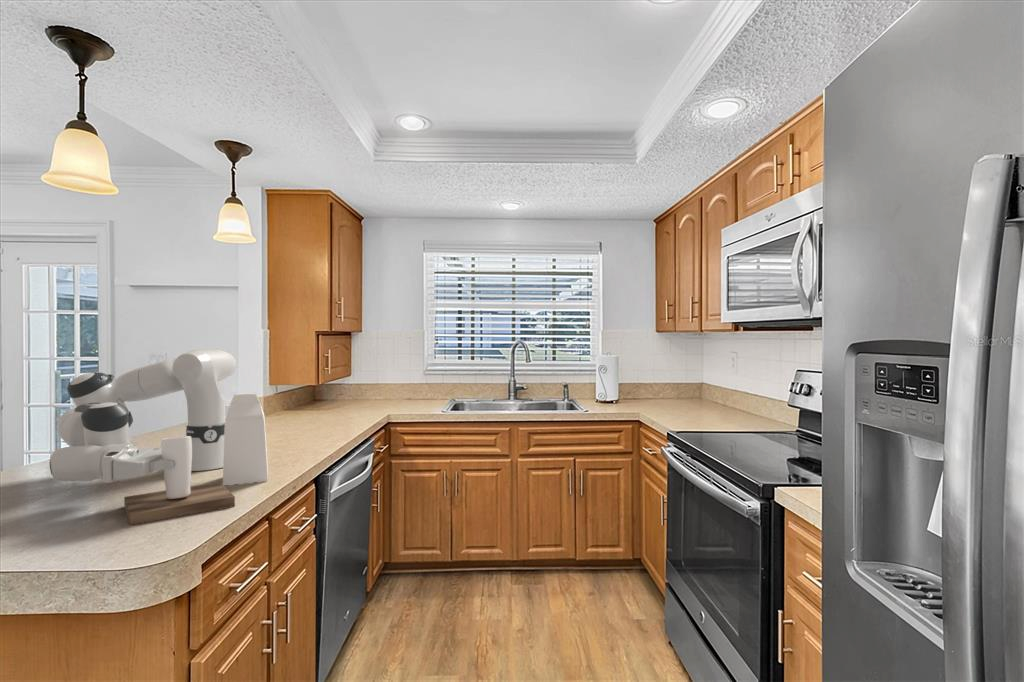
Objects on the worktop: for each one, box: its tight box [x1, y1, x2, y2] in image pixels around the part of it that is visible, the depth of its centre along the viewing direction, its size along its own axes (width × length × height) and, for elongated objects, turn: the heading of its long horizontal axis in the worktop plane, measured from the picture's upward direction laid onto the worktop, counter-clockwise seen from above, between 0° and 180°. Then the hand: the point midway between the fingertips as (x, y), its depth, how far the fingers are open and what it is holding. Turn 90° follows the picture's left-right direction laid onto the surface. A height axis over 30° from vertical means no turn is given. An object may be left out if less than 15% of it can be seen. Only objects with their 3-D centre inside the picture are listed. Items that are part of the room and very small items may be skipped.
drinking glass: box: [160, 435, 192, 499], centre depth 140 cm, size 7×7×15 cm
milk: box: [222, 392, 269, 487], centre depth 167 cm, size 12×12×26 cm
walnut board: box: [123, 481, 236, 526], centre depth 141 cm, size 18×22×2 cm
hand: (182, 459), depth 141 cm, fingers open, 8 cm apart
